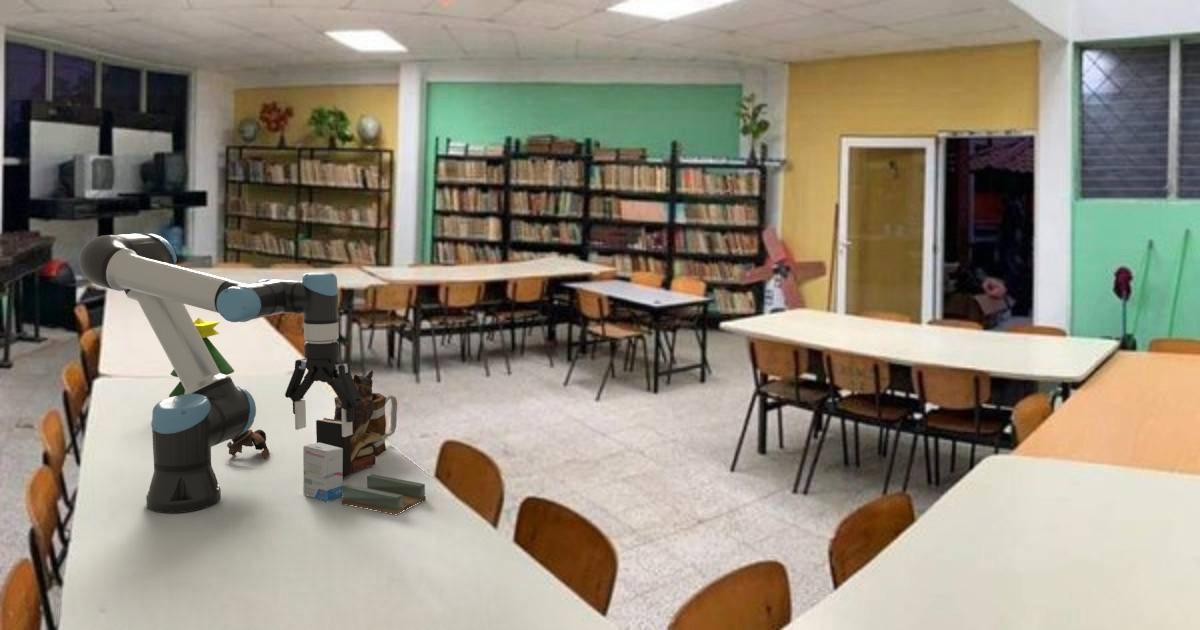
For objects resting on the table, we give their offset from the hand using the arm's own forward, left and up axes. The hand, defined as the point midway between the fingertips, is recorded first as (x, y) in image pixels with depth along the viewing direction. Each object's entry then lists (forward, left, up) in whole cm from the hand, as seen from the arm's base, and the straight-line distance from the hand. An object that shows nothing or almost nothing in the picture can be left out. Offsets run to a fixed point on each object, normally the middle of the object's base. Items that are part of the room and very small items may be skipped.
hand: (323, 432), depth 205 cm
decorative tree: (+41, +83, -15) cm, 94 cm away
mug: (+35, +15, -15) cm, 41 cm away
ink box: (0, 0, -15) cm, 15 cm away
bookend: (+18, +7, -16) cm, 25 cm away
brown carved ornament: (+15, +37, -16) cm, 43 cm away
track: (+3, -15, -15) cm, 21 cm away
